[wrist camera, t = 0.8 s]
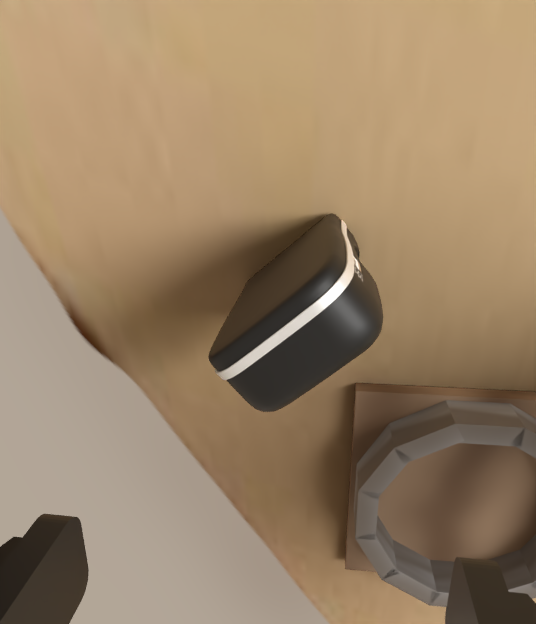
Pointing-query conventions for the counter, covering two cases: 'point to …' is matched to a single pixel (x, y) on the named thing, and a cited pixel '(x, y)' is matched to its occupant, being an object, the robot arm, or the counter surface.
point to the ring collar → (442, 485)
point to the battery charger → (299, 319)
